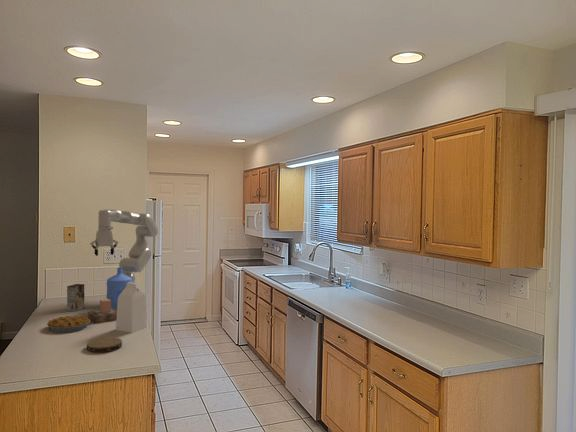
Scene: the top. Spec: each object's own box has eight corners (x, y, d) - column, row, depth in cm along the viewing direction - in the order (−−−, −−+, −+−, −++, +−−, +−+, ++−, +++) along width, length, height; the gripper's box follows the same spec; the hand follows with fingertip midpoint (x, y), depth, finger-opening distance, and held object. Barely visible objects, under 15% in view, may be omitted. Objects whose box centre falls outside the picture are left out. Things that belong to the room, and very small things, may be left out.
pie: (96, 328, 249) (96, 319, 249) (55, 336, 233) (55, 326, 232) (80, 320, 264) (80, 312, 263) (41, 327, 247) (41, 318, 247)
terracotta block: (108, 310, 271) (108, 298, 271) (110, 311, 267) (111, 300, 267) (99, 311, 268) (99, 299, 268) (102, 313, 264) (102, 301, 264)
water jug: (100, 311, 285) (101, 268, 284) (118, 306, 299) (119, 265, 298) (119, 314, 279) (120, 270, 278) (136, 309, 293) (137, 267, 292)
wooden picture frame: (114, 314, 278) (114, 307, 278) (122, 319, 267) (122, 312, 267) (87, 318, 268) (87, 311, 268) (94, 323, 257) (95, 315, 257)
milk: (146, 327, 251) (147, 282, 251) (131, 332, 241) (132, 285, 240) (131, 324, 256) (131, 280, 256) (115, 329, 246) (116, 283, 245)
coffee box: (76, 307, 294) (76, 283, 293) (84, 308, 292) (84, 284, 292) (66, 310, 285) (66, 286, 284) (75, 311, 283) (75, 286, 283)
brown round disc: (107, 341, 227) (108, 335, 227) (128, 346, 219) (128, 340, 219) (79, 349, 213) (79, 343, 213) (100, 356, 205) (100, 349, 205)
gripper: (116, 228, 295) (115, 253, 296) (88, 228, 284) (88, 255, 284) (120, 229, 289) (119, 254, 290) (92, 229, 278) (92, 256, 279)
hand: (104, 255), depth 287 cm, fingers open, 9 cm apart
